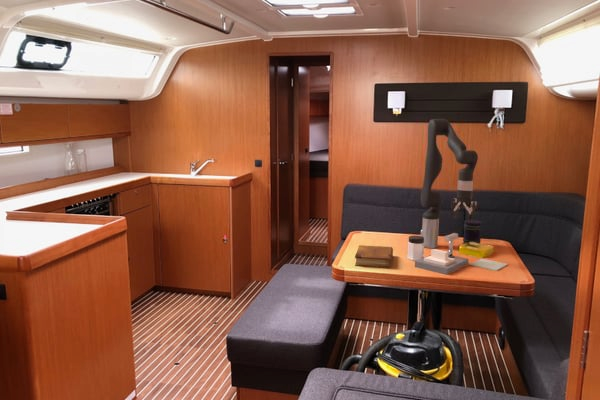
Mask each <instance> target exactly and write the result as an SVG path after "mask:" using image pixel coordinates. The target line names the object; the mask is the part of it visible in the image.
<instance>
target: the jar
mask: <svg viewBox="0 0 600 400" xmlns="http://www.w3.org/2000/svg"><path fill="white" fill-rule="evenodd" d="M424 257H425V247H424V237H422V236H421V235H410V236H408V241H407V256H406V258H407V259H408V260H409V261H414V262H415V261H417V260H419V259H422V258H424Z"/></svg>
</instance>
